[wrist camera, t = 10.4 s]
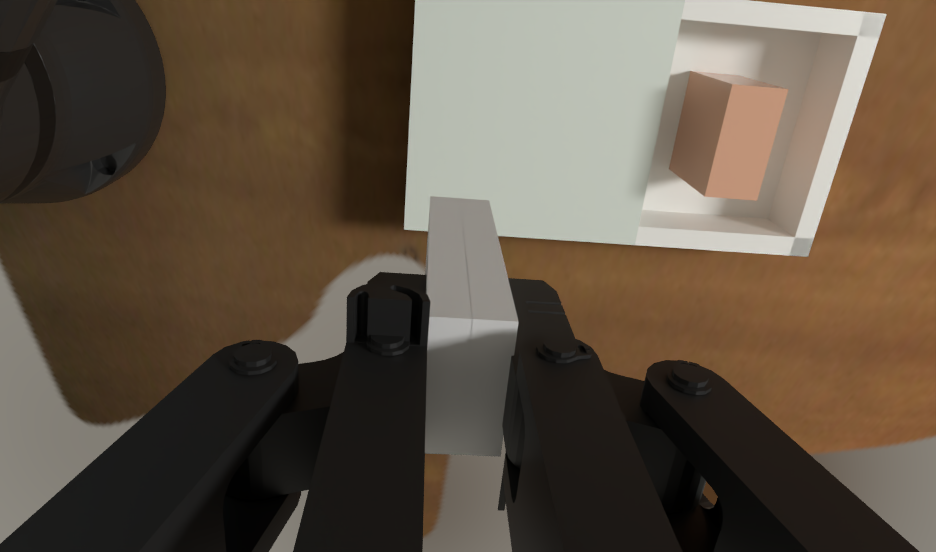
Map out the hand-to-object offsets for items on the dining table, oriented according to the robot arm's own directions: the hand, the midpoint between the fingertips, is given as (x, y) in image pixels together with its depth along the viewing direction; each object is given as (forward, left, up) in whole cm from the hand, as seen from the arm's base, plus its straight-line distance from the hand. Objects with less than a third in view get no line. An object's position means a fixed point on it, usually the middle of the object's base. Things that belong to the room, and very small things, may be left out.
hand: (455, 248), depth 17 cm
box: (+18, 0, -24) cm, 30 cm away
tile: (+14, 0, -21) cm, 25 cm away
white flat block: (+5, 0, -24) cm, 25 cm away
